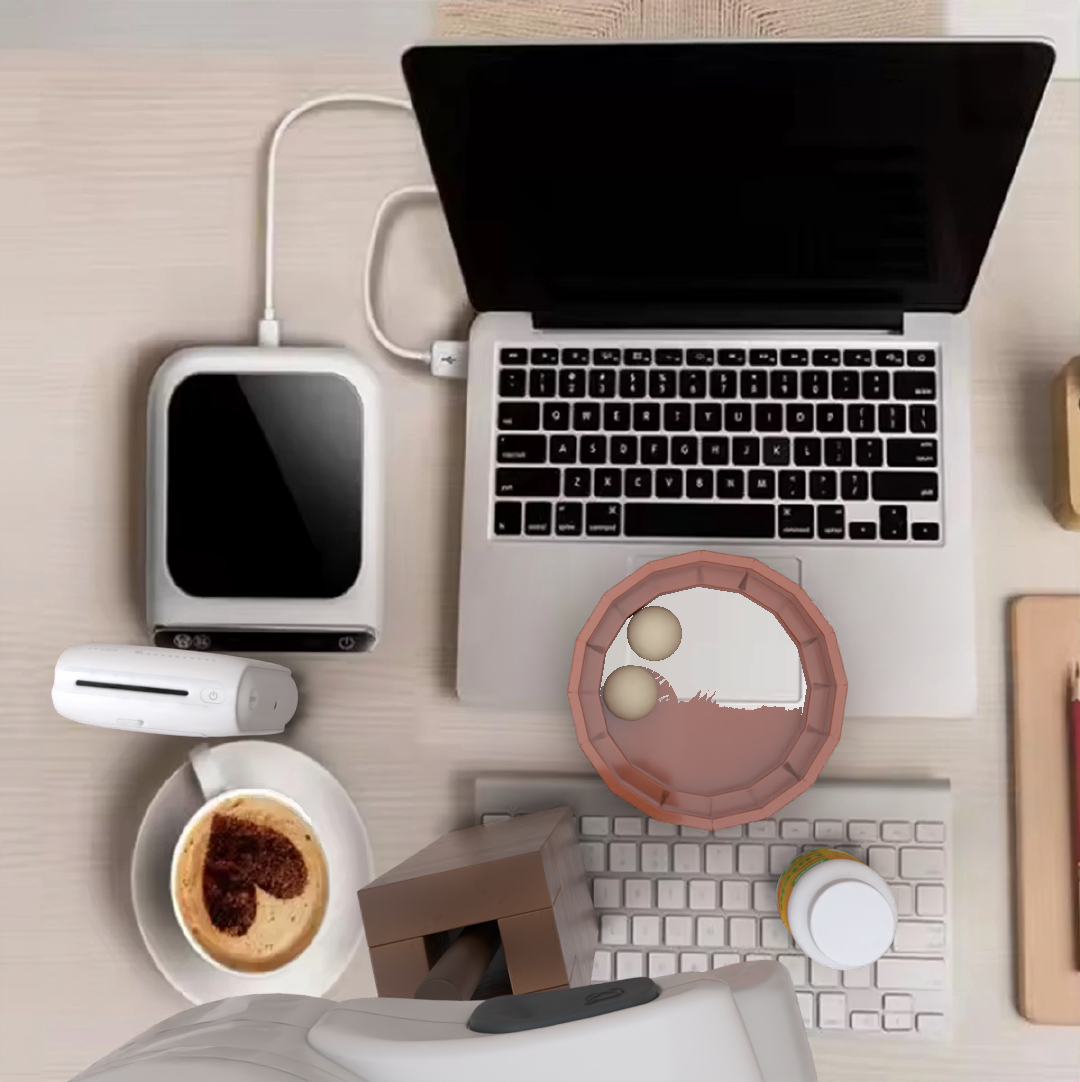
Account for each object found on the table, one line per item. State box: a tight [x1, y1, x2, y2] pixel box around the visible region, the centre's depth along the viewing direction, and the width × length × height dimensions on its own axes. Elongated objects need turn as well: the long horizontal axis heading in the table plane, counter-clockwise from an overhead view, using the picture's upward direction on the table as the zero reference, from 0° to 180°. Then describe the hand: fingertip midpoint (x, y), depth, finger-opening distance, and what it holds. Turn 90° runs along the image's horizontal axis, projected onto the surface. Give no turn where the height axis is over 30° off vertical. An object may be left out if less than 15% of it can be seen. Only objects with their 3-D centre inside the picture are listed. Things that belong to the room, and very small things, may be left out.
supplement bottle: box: [775, 847, 899, 971], centre depth 71 cm, size 5×5×10 cm
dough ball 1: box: [627, 606, 682, 661], centre depth 76 cm, size 3×3×3 cm
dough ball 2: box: [603, 665, 658, 721], centre depth 76 cm, size 3×3×3 cm
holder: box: [356, 804, 600, 1001], centre depth 64 cm, size 7×7×26 cm
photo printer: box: [50, 642, 299, 738], centre depth 73 cm, size 10×4×12 cm, turn 84°
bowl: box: [566, 549, 849, 832], centre depth 75 cm, size 14×14×6 cm
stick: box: [412, 919, 502, 1001], centre depth 50 cm, size 2×2×14 cm
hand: (394, 1075), depth 36 cm, fingers open, 8 cm apart
